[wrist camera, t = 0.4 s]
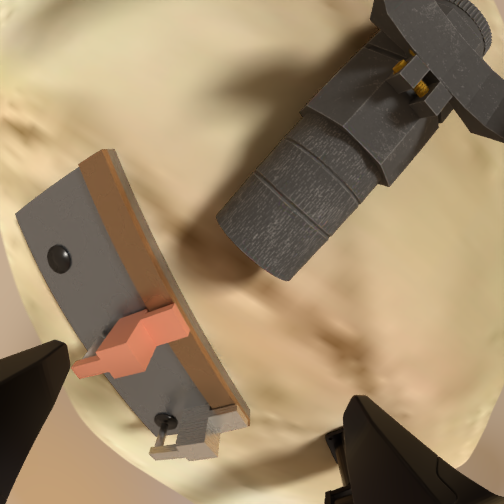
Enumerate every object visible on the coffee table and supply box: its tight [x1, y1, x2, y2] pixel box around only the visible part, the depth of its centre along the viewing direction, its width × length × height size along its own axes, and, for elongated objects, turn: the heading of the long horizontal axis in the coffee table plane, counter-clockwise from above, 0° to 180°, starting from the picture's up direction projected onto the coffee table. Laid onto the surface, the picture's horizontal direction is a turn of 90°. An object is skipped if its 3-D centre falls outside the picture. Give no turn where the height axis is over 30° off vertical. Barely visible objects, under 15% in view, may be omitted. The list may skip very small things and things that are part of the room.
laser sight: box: [216, 0, 504, 281], centre depth 13 cm, size 10×22×10 cm, turn 139°
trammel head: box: [71, 303, 190, 379], centre depth 19 cm, size 2×8×4 cm, turn 112°
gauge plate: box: [15, 149, 250, 461], centre depth 20 cm, size 24×10×6 cm, turn 22°
